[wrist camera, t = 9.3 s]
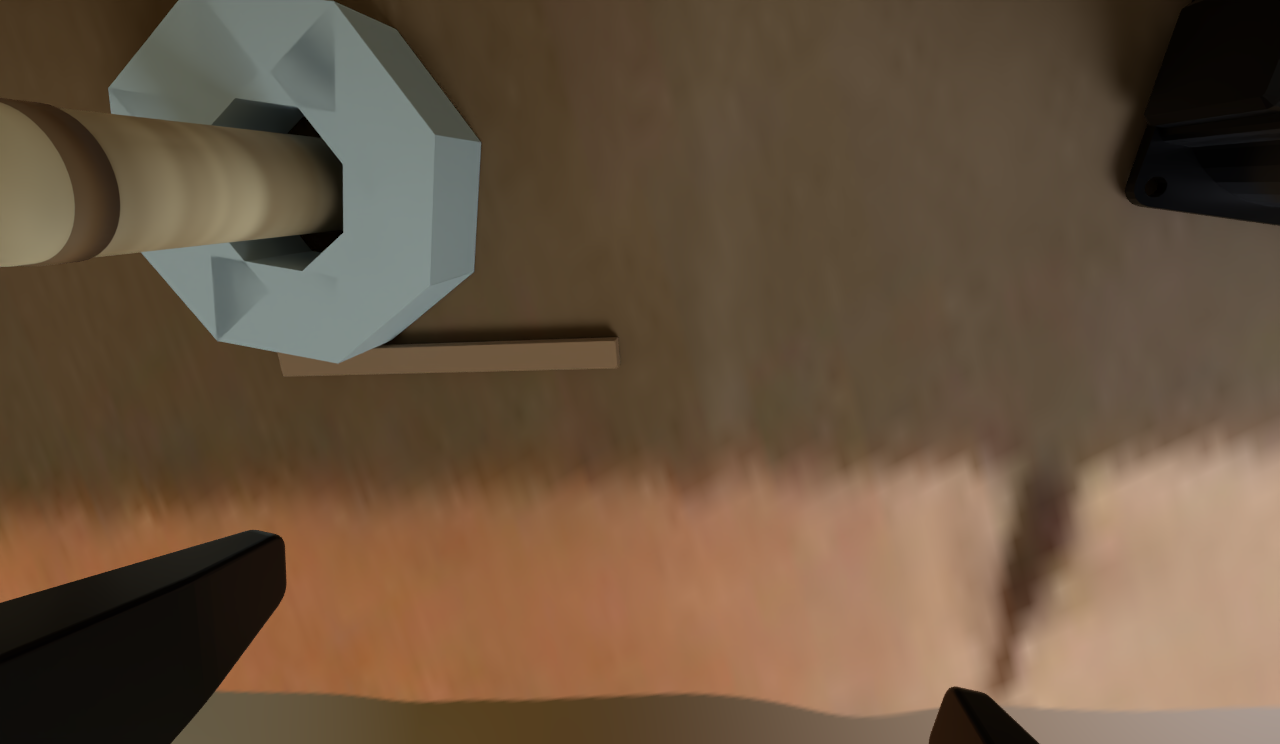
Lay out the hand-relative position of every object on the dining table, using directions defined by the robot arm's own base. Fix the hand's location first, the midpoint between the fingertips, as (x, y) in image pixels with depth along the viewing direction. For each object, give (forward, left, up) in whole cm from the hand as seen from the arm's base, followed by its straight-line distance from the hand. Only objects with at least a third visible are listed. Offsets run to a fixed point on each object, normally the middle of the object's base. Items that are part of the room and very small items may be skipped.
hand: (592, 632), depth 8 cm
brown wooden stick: (+8, +1, -12) cm, 15 cm away
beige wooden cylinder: (+12, -4, -12) cm, 18 cm away
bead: (+12, -4, -12) cm, 18 cm away
